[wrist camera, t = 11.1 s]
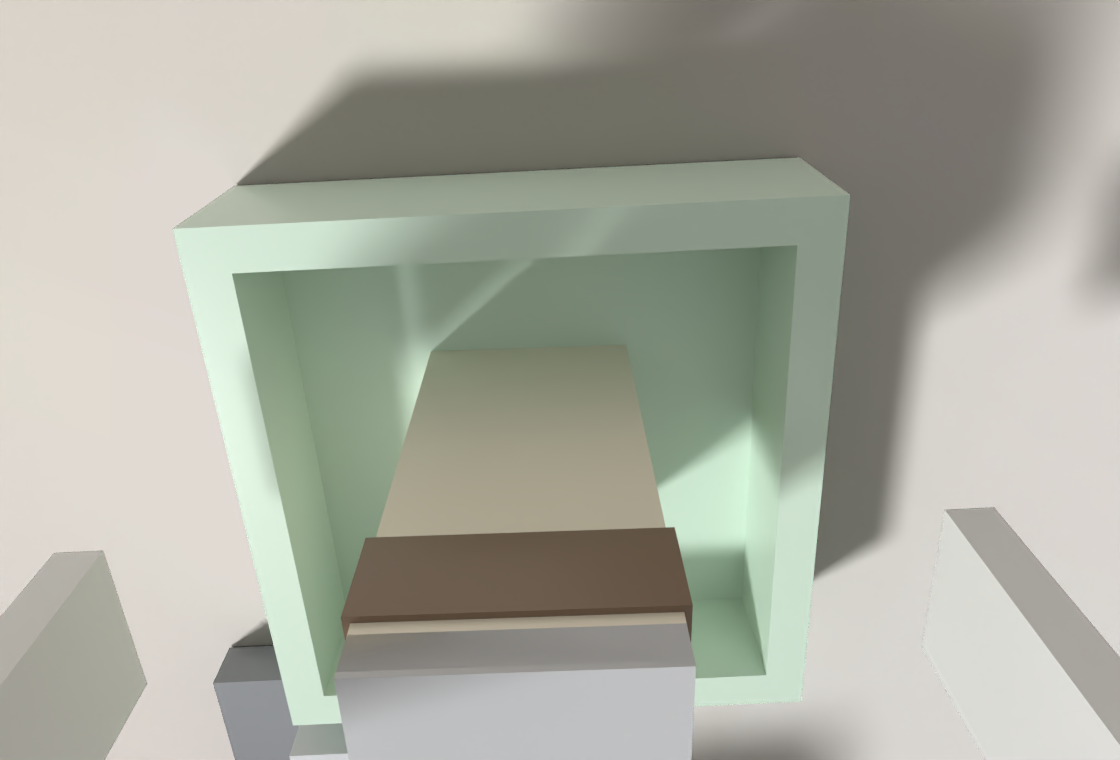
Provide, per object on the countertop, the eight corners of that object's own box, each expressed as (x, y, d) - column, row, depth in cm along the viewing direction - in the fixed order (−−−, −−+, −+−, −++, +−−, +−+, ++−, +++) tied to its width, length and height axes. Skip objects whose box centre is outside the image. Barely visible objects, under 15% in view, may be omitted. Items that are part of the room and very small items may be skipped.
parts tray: (768, 606, 22) (801, 701, 19) (325, 627, 22) (292, 725, 19) (799, 157, 17) (850, 195, 14) (234, 185, 17) (172, 229, 14)
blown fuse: (629, 512, 20) (691, 905, 11) (443, 518, 20) (370, 916, 11) (630, 339, 18) (705, 658, 10) (425, 346, 18) (323, 672, 10)
